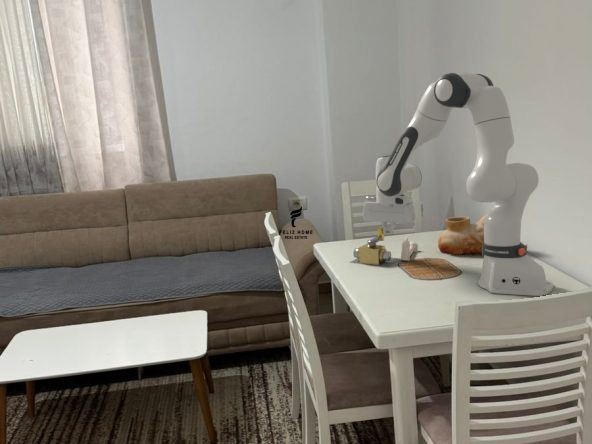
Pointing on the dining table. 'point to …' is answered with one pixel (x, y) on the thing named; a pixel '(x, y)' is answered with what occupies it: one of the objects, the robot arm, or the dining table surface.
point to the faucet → (408, 249)
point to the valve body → (372, 254)
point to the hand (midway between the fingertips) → (388, 233)
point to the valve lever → (377, 238)
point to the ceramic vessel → (462, 237)
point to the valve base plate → (380, 264)
